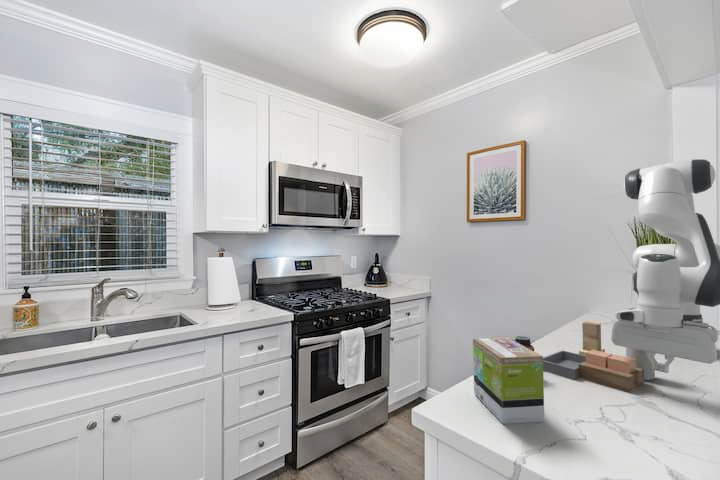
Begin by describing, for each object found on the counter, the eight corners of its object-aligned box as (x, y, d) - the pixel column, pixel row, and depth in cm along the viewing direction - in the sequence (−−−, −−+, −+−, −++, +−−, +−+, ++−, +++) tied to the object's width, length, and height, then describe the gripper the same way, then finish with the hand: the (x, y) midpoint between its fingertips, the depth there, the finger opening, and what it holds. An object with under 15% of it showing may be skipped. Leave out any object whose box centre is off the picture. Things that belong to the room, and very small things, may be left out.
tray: (562, 359, 113) (562, 350, 113) (598, 368, 105) (597, 358, 105) (537, 369, 104) (537, 359, 104) (574, 380, 96) (574, 369, 96)
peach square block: (592, 359, 101) (592, 349, 101) (612, 364, 97) (612, 353, 97) (585, 362, 98) (585, 352, 98) (605, 367, 94) (605, 357, 94)
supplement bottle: (534, 374, 100) (534, 336, 100) (535, 381, 95) (535, 341, 95) (512, 371, 103) (512, 334, 103) (512, 378, 97) (512, 339, 97)
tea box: (472, 394, 87) (471, 337, 87) (509, 393, 87) (508, 336, 88) (501, 425, 72) (501, 356, 72) (546, 423, 72) (545, 354, 73)
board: (594, 370, 103) (594, 357, 103) (643, 383, 93) (643, 368, 93) (578, 378, 97) (578, 364, 97) (629, 392, 87) (629, 377, 87)
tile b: (614, 364, 97) (614, 354, 97) (636, 370, 92) (636, 359, 92) (607, 368, 94) (607, 357, 94) (629, 374, 90) (629, 362, 90)
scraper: (591, 354, 118) (591, 320, 119) (604, 357, 115) (604, 322, 115) (579, 359, 113) (578, 324, 113) (592, 363, 109) (591, 326, 110)
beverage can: (660, 382, 94) (659, 339, 94) (634, 380, 95) (633, 338, 95) (646, 373, 100) (645, 333, 100) (621, 372, 101) (621, 332, 102)
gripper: (720, 322, 80) (721, 381, 79) (617, 309, 97) (618, 358, 96) (714, 326, 76) (715, 387, 76) (608, 312, 93) (609, 362, 93)
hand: (660, 370), depth 86 cm, fingers closed
